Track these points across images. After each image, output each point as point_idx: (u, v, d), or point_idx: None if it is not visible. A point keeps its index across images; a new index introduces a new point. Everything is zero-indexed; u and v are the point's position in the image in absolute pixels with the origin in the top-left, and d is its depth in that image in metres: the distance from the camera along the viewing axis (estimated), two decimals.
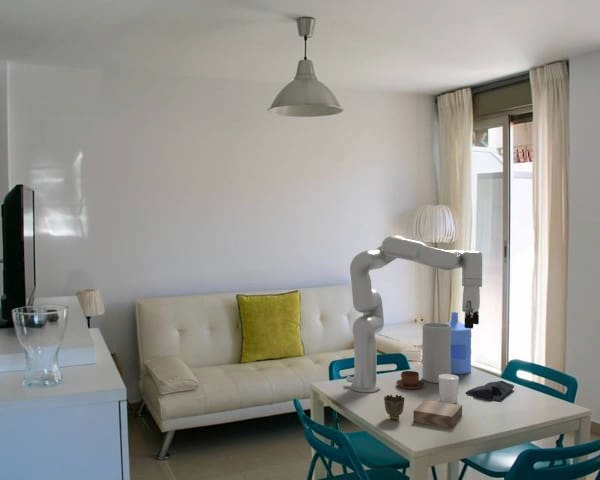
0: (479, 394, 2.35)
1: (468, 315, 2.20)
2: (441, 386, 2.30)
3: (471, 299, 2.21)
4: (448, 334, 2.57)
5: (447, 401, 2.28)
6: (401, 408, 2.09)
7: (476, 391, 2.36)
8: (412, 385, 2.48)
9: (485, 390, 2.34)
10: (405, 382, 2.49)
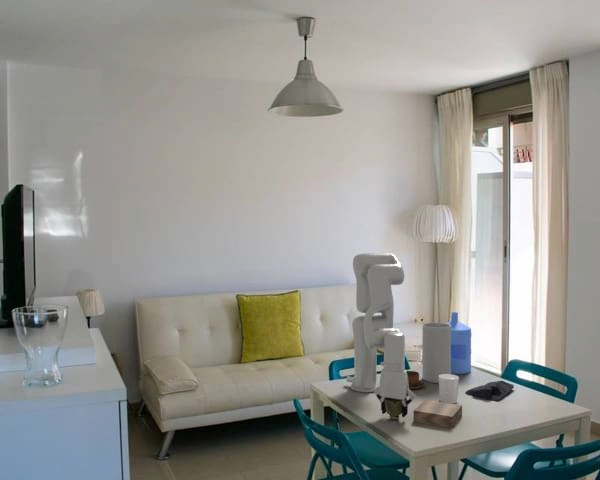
0: (478, 393, 2.36)
1: (410, 402, 2.08)
2: (441, 386, 2.30)
3: None
4: (448, 334, 2.57)
5: (447, 401, 2.28)
6: (401, 408, 2.09)
7: (475, 391, 2.36)
8: (412, 385, 2.48)
9: (484, 390, 2.34)
10: None
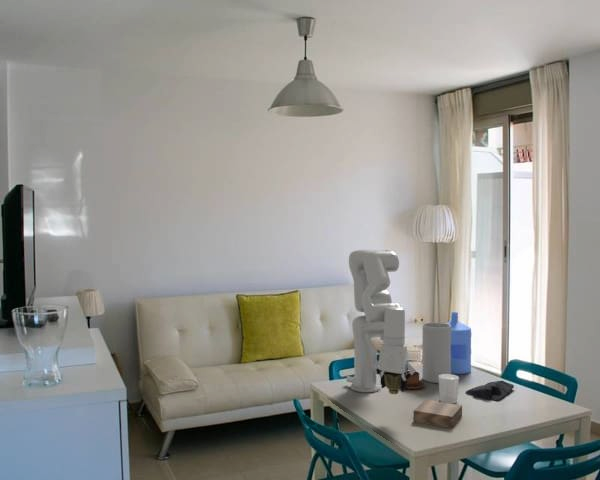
0: (478, 393, 2.36)
1: (409, 376, 2.09)
2: (441, 386, 2.30)
3: (407, 358, 2.09)
4: (448, 334, 2.57)
5: (447, 401, 2.28)
6: None
7: (475, 391, 2.37)
8: (412, 385, 2.48)
9: (484, 390, 2.34)
10: None
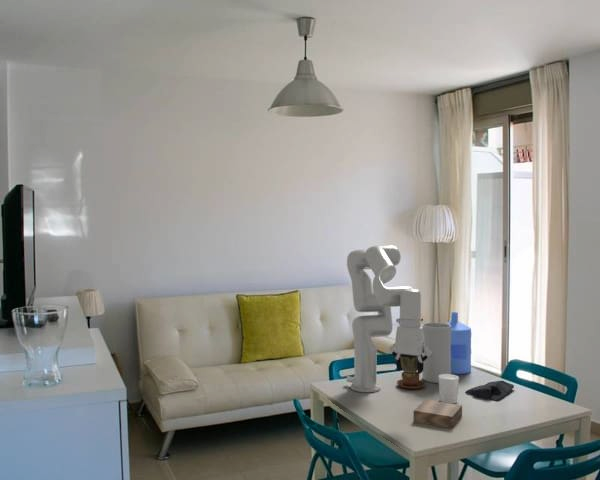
0: (478, 393, 2.36)
1: None
2: (441, 386, 2.30)
3: None
4: (448, 334, 2.57)
5: (447, 401, 2.28)
6: (417, 365, 2.08)
7: (475, 390, 2.37)
8: (413, 385, 2.48)
9: (484, 390, 2.34)
10: (406, 382, 2.49)
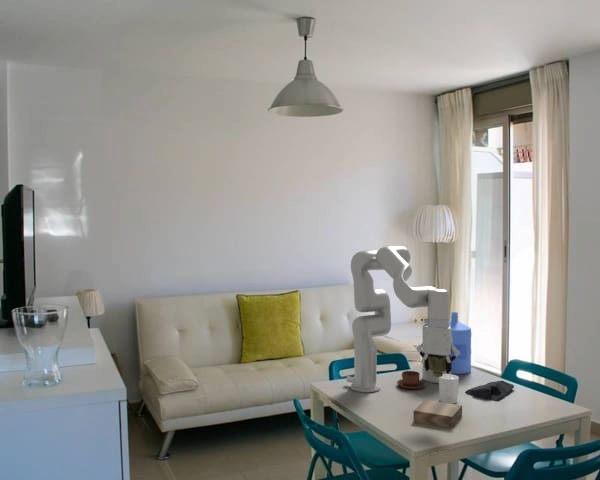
0: (478, 393, 2.36)
1: None
2: (441, 386, 2.30)
3: None
4: None
5: (447, 401, 2.28)
6: (445, 365, 2.08)
7: (475, 390, 2.37)
8: (413, 385, 2.48)
9: (484, 390, 2.35)
10: (406, 382, 2.49)
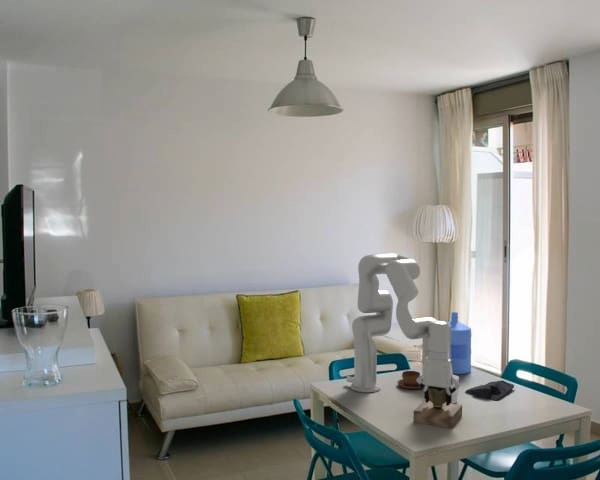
0: (477, 393, 2.36)
1: (454, 391, 2.08)
2: None
3: None
4: None
5: None
6: (445, 397, 2.09)
7: (475, 390, 2.37)
8: (413, 385, 2.49)
9: (483, 389, 2.35)
10: (406, 382, 2.49)
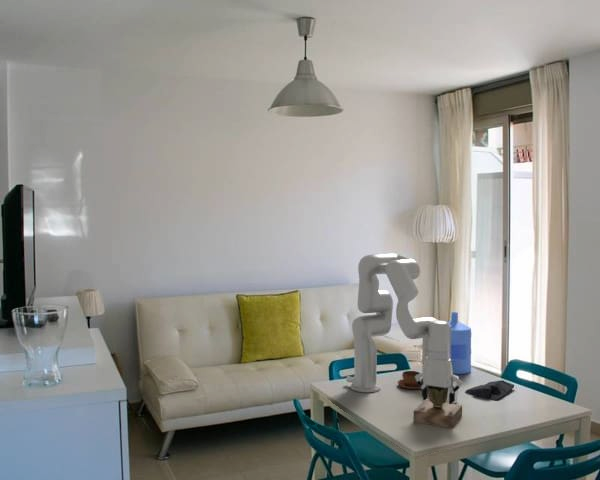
0: (477, 393, 2.36)
1: (457, 389, 2.08)
2: None
3: (452, 372, 2.09)
4: None
5: (447, 401, 2.28)
6: (445, 397, 2.09)
7: (475, 390, 2.37)
8: (413, 385, 2.49)
9: (483, 389, 2.35)
10: (406, 382, 2.49)
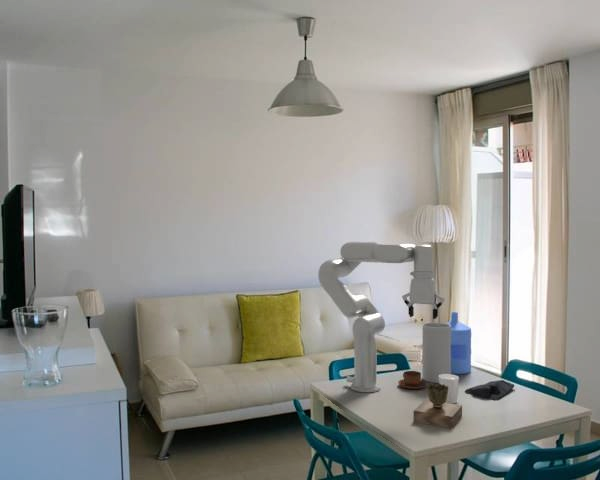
0: (477, 392, 2.37)
1: (440, 305, 2.30)
2: None
3: (435, 290, 2.31)
4: (448, 334, 2.57)
5: (447, 401, 2.28)
6: (445, 397, 2.09)
7: (474, 390, 2.38)
8: (414, 385, 2.49)
9: (483, 389, 2.36)
10: (407, 382, 2.49)
